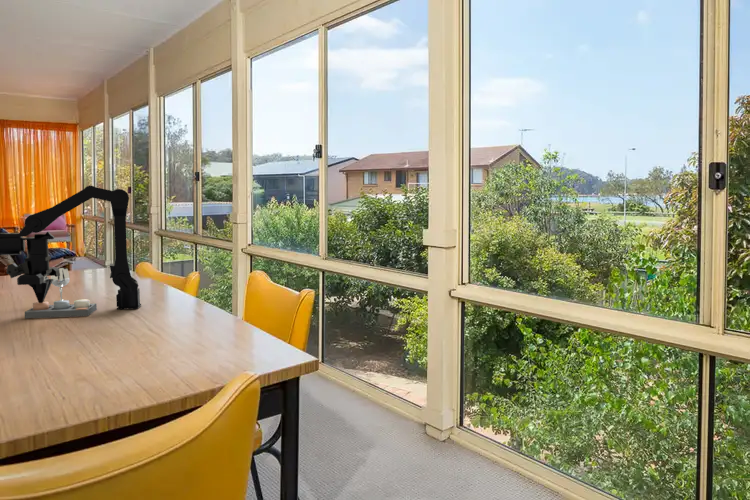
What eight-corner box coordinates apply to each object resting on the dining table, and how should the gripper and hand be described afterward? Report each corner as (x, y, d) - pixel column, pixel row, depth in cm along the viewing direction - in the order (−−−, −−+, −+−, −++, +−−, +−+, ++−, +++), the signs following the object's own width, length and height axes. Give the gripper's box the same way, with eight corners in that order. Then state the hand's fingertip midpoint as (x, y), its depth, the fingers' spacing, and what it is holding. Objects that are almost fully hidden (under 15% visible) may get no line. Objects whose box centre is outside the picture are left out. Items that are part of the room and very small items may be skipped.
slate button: (71, 307, 184) (71, 299, 183) (67, 310, 179) (66, 302, 179) (56, 308, 183) (56, 300, 183) (51, 311, 179) (51, 303, 178)
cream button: (91, 307, 185) (91, 299, 185) (87, 309, 181) (87, 301, 180) (76, 307, 184) (76, 299, 184) (72, 310, 180) (72, 302, 180)
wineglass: (56, 305, 195) (54, 270, 193) (49, 303, 198) (47, 269, 197) (73, 302, 199) (72, 268, 198) (66, 300, 203) (64, 267, 201)
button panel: (96, 309, 188) (96, 302, 188) (87, 316, 178) (87, 308, 178) (37, 311, 184) (36, 304, 184) (24, 318, 175) (24, 311, 174)
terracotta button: (51, 308, 183) (50, 301, 182) (46, 311, 178) (45, 303, 178) (36, 309, 182) (35, 301, 181) (31, 312, 177) (30, 304, 177)
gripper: (21, 251, 185) (24, 298, 187) (-4, 257, 167) (-1, 309, 169) (58, 250, 188) (61, 296, 189) (37, 257, 170) (40, 308, 171)
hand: (41, 302), depth 180 cm, fingers closed, pressing on terracotta button
